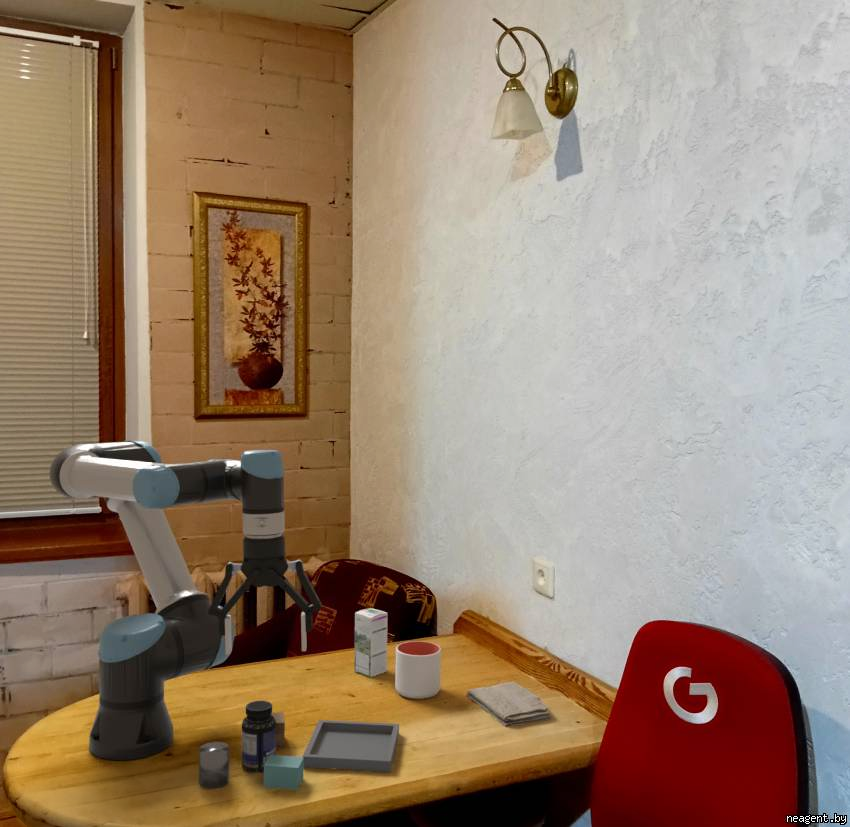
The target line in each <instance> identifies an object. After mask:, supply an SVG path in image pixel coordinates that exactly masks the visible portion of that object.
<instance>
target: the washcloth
mask: <svg viewBox="0 0 850 827" xmlns="http://www.w3.org/2000/svg"><path fill="white" fill-rule="evenodd" d="M466 697H467V698H468V697H469V698H468V699H470V700H471V701H472V700H473V701H474V702H476V703H477V704H478V705H479V708H480V709H482V708H483V709H484V711H485V712H487V713H488V714H489V715H490V714H491V715H492V717H493V718H494V719H495V718H496V719H497V720H496V721H498V722H499V723H500V724H501V725H502V726H503V727H507V726H521V725H527V724H531V723H536V722H537V723H538V722H541V721H542V722H543V721H547V720H550V719H551V718H552V716H551V715H550V711H549V710H548V709H549V707H550V706H548V705H547V704H545V703H544V702H543V701H542V700H541V697H540V696H538V695H536V694H534V693H532V692H531V691H529V689H526V688H525V687H523V686H521V685H520V684H518V683H517V682H515V681H508V682H502V683H499V684H496V685H492V686H491V685H490V686H482V687H481V686H480V687H476V688H472V689H468V690H467V692H466ZM473 701H472V702H473ZM474 702H473V703H474ZM476 703H475V704H476ZM477 704H476V705H477ZM478 705H477V706H478ZM483 709H482V710H483ZM491 715H490V716H491Z"/></svg>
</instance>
